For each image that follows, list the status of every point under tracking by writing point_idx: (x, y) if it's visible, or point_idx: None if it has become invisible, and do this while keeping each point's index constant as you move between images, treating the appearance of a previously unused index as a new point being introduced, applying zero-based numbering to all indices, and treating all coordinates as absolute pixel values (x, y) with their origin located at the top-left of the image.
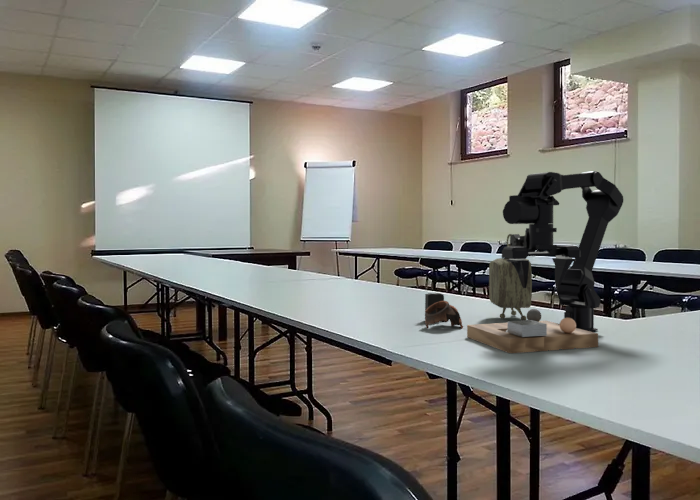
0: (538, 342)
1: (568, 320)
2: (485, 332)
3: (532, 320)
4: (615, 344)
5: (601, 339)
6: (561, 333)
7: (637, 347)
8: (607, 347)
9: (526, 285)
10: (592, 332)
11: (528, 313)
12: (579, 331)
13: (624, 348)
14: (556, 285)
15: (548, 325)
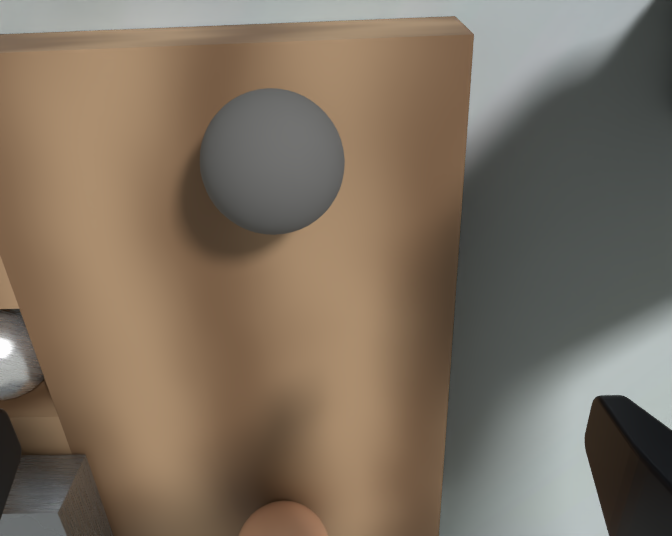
0: None
1: None
2: None
3: (59, 528)
4: (559, 466)
5: (609, 356)
6: (247, 509)
7: (592, 529)
8: (464, 502)
9: (2, 496)
10: (430, 526)
11: (203, 177)
12: (383, 491)
13: (519, 531)
14: (594, 429)
15: (326, 283)
